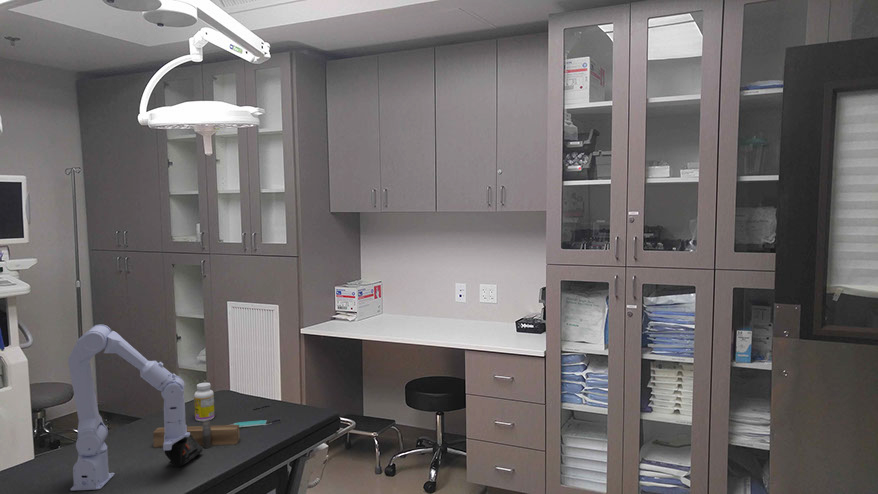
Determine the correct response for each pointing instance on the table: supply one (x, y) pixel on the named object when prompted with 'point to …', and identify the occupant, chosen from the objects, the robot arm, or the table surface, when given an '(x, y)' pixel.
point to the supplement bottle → (204, 402)
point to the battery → (188, 450)
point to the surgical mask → (253, 422)
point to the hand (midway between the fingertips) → (176, 464)
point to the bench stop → (205, 435)
